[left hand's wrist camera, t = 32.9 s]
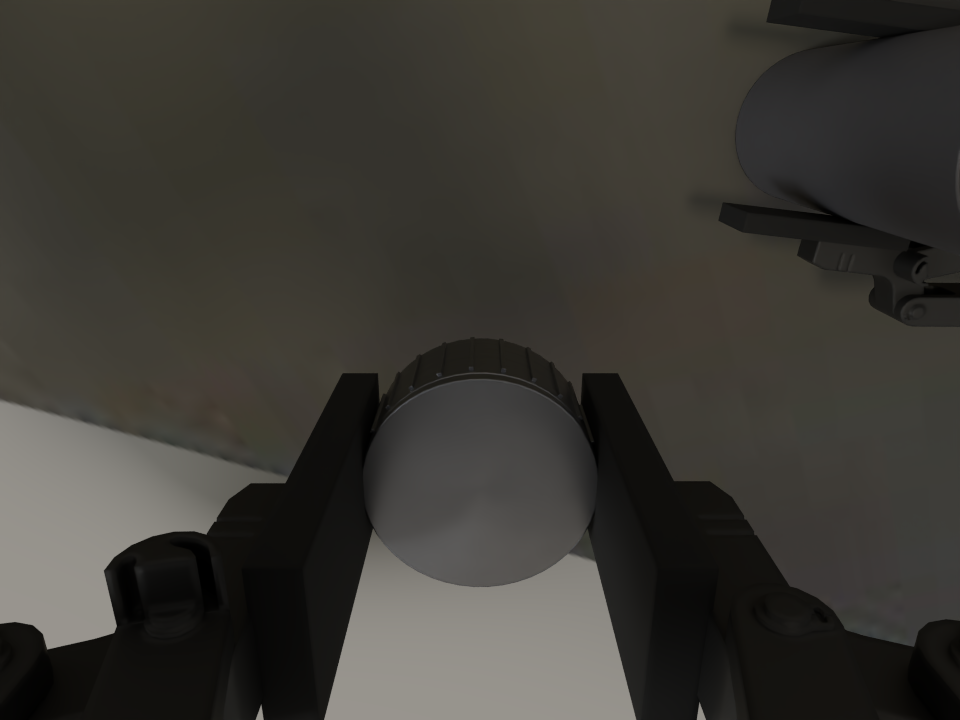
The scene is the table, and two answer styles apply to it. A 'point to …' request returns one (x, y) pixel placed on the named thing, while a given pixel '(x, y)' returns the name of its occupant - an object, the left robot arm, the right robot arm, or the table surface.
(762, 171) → the bottle
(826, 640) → the left robot arm
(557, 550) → the cap
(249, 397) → the table surface
